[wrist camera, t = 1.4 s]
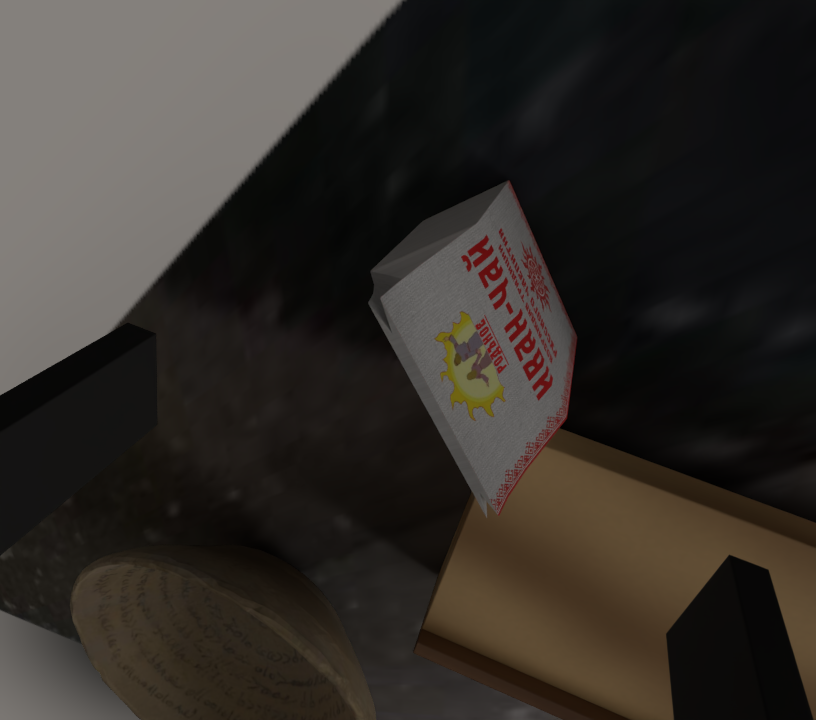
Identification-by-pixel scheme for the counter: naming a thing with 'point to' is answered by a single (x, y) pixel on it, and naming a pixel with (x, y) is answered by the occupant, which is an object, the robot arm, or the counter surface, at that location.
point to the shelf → (603, 581)
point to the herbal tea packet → (480, 336)
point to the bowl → (216, 636)
